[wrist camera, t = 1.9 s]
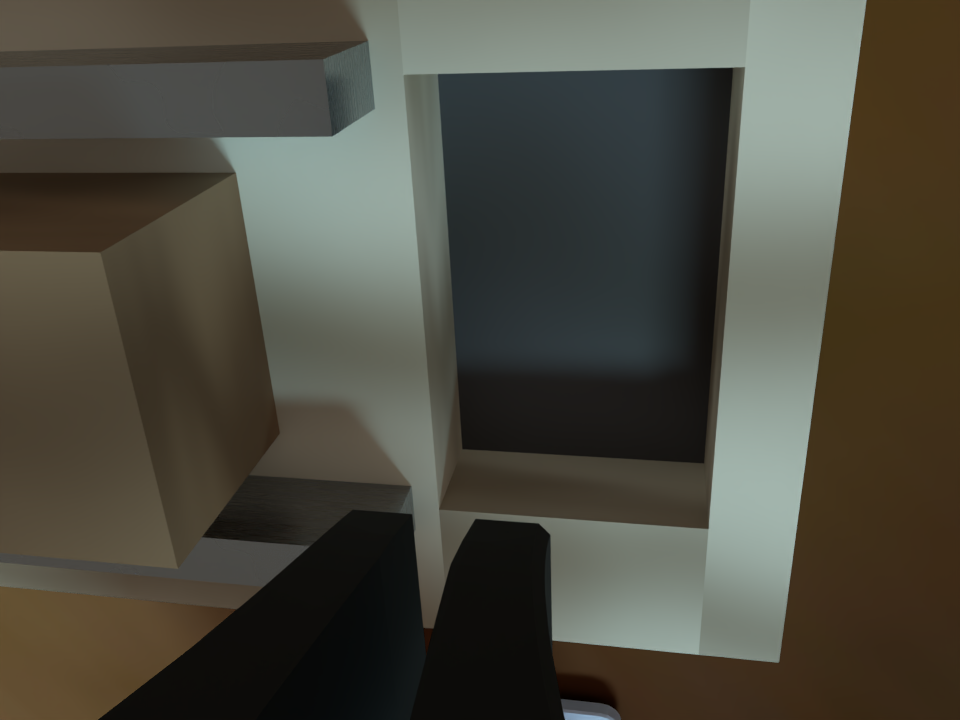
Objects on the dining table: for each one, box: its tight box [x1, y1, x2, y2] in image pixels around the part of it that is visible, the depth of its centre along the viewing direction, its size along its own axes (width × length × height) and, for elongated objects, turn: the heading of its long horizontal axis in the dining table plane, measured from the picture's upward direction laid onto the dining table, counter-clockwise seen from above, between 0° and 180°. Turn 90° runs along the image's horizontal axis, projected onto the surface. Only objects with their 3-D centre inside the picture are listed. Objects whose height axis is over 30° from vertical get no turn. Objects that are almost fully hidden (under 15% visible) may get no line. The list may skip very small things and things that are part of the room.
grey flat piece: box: [0, 0, 866, 662], centre depth 18 cm, size 14×28×2 cm, turn 93°
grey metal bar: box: [0, 41, 416, 587], centre depth 15 cm, size 9×10×2 cm
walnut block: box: [0, 173, 280, 569], centre depth 15 cm, size 5×5×4 cm
